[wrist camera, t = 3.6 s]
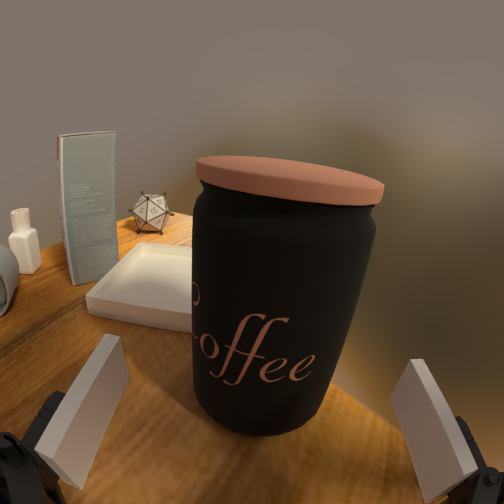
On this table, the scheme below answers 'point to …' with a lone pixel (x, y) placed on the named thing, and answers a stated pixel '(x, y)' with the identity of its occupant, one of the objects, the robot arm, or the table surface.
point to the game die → (151, 212)
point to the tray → (147, 288)
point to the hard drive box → (88, 203)
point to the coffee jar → (274, 285)
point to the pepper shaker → (24, 242)
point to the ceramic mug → (7, 277)
